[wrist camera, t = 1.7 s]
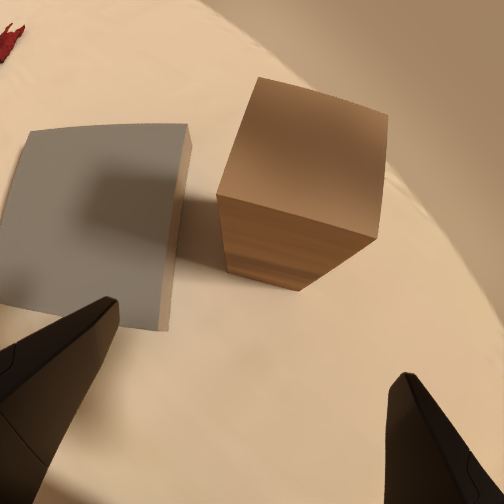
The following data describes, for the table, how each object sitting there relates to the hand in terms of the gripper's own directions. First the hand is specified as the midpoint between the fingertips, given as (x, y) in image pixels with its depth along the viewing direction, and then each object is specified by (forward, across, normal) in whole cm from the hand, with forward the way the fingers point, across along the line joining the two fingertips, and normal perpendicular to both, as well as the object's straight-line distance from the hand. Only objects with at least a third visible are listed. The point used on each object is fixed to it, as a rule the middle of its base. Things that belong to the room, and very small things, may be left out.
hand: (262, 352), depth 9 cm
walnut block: (+13, 0, +4) cm, 14 cm away
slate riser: (+12, +14, +5) cm, 19 cm away
